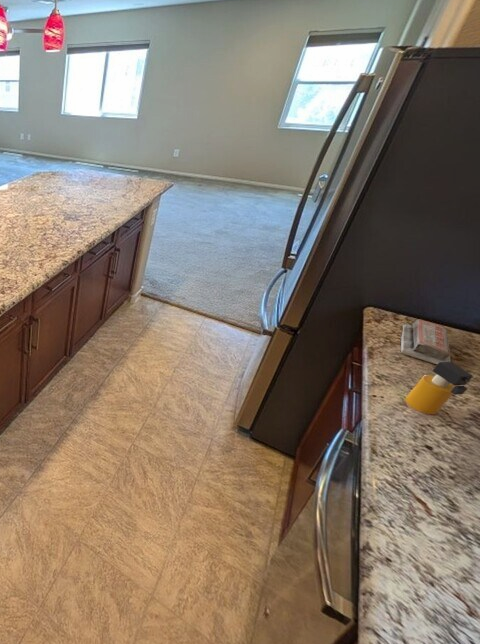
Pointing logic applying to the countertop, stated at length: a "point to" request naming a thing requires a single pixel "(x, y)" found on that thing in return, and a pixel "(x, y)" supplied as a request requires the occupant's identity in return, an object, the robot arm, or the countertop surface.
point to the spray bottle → (437, 387)
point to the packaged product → (425, 341)
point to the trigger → (458, 390)
